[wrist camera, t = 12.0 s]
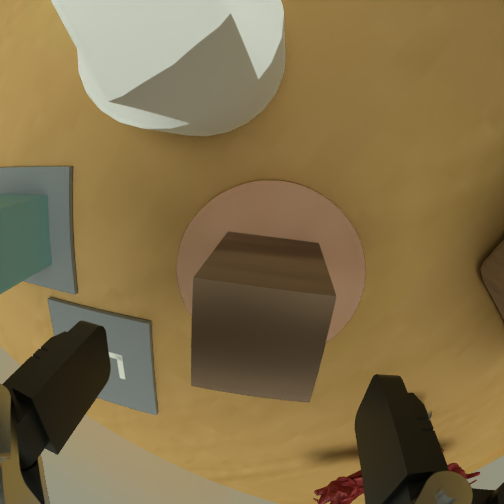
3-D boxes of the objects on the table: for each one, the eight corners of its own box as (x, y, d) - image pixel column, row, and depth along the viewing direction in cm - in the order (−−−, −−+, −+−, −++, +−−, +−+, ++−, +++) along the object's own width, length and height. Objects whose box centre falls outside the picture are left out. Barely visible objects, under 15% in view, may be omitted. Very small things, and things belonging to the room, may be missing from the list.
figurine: (490, 385, 20) (523, 435, 14) (440, 467, 23) (455, 514, 17) (327, 392, 21) (335, 464, 15) (302, 477, 25) (301, 534, 18)
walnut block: (228, 231, 18) (193, 277, 11) (318, 242, 18) (336, 296, 11) (221, 311, 19) (191, 385, 13) (304, 323, 19) (309, 402, 12)
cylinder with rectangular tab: (317, 82, 16) (365, -34, 4) (181, 167, 18) (31, 196, 6) (231, -25, 14) (173, -160, 2) (111, 56, 16) (-35, 3, 5)
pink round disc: (184, 171, 18) (181, 171, 17) (379, 195, 17) (382, 196, 16) (178, 339, 21) (176, 343, 20) (341, 361, 20) (342, 366, 20)
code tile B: (-6, 167, 19) (-9, 168, 19) (72, 166, 18) (69, 166, 18) (2, 272, 22) (-1, 274, 21) (78, 292, 21) (75, 294, 21)
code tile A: (50, 296, 22) (47, 299, 21) (151, 321, 21) (148, 323, 20) (69, 384, 24) (67, 386, 24) (158, 412, 24) (156, 415, 23)
